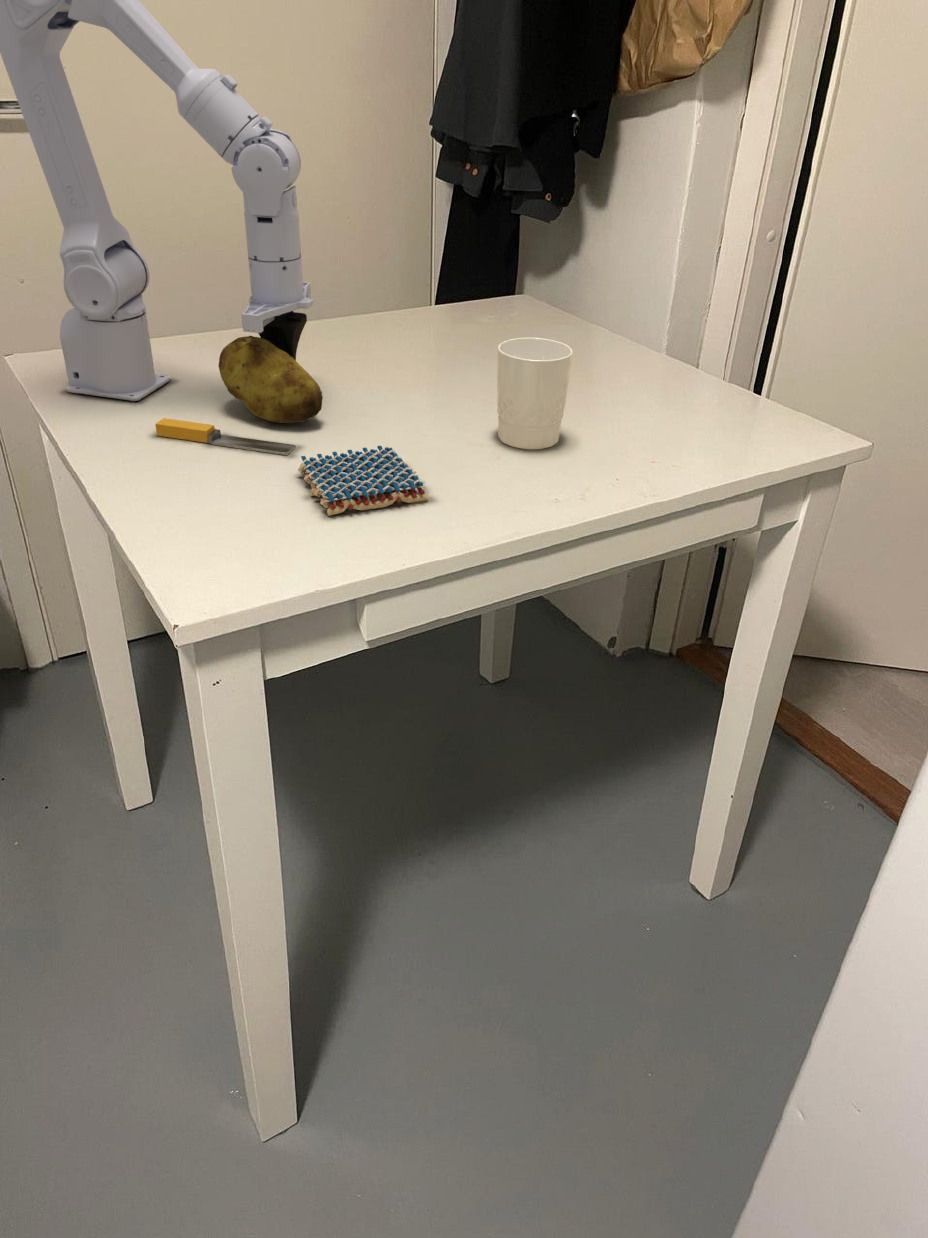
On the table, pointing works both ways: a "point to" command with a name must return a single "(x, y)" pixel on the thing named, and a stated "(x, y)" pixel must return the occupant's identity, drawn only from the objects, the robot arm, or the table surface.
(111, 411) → the table surface
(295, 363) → the potato
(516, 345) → the white cup
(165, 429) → the knife
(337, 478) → the woven mat
